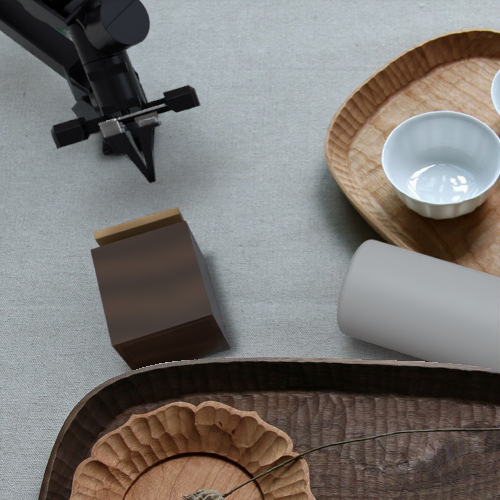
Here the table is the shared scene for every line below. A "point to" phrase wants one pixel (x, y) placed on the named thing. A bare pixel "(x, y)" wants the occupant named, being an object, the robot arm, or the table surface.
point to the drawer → (138, 226)
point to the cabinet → (159, 298)
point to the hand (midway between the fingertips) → (153, 182)
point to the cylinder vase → (421, 306)
